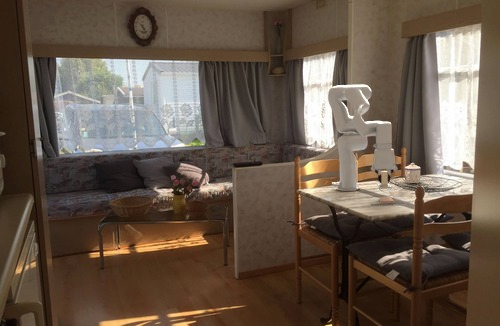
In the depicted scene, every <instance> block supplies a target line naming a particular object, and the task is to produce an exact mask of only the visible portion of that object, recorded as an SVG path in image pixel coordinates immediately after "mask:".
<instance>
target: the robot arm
mask: <svg viewBox="0 0 500 326" xmlns="http://www.w3.org/2000/svg"><path fill="white" fill-rule="evenodd" d="M371 97H372V89H371V87H370V86H368V85H367V84H346V85H344V84H343V85H342V84H341V85H335V86H332V87H331V88H329V91H328V92H327V101H328V104H329V106H330V108H331V111H332V115H333V119H334V123H335V127H336V131H337V132H338V133H340V134H343V135H341V136H339V137H338V138H337V148H338V149H337V150H338V156H339V157H338V158H339V181H337V182H331V186H332V187H337V190H338V191H341V192H355V191H359V190H360V188H361V187H360V186H358V183H357V182H358V177H357V175H358V174H357V170H358V168H357V157H356V155H355V154H354V151H356V152H357V151H362V150H363V151H364V150H365V149H367V147H368V145H369V144H368V143H369V142H368V137H375V144H373V145H372V148H375V149H374V151H373V152H374V153H373V163H372V166H371V167H370V170H371V171H372V172H374V173H375V174H377V177H378V178H377V181H378V183H382V181H381V171H387V172H388V183H389V184H390V182H391V175H392V174H394V173H393V172H396V171H397V170H399V169H398V166H397V165H396V157H395V149H394V148H393V147H392V146H393V145H392V144H393V142H392V141H393V135H392V133H393V132H392V131H393V130H392V128H393V127H392V123H391V122H390V121H383V120H382V121H381V120H373V121H371V120H369V121H365V120H364V118H363V117H362V115H364V114H365V113H367V112H368V111H369V109H370V103H369V101H368V100H369V99H371ZM343 101H348V102H349V104H350V107H351V108H352V109H353V111H354V113H353V115H350V113H349V109H348V107H347V106H346V105H345V103H344V102H343ZM349 133H350V134H349ZM351 133H352V134H351Z"/></svg>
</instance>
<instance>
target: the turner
mask: <svg viewBox="0 0 500 326" xmlns="http://www.w3.org/2000/svg"><path fill="white" fill-rule="evenodd" d="M381 181H382V183H380V182H377V183H376V186H377V188H379V189H380V190H384V189H385V190H387V189H388V190H391V189H393V186H392V185H391V183H390V182H389V183H388V172H387V170H381Z"/></svg>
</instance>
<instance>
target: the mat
mask: <svg viewBox="0 0 500 326" xmlns="http://www.w3.org/2000/svg"><path fill="white" fill-rule="evenodd" d="M370 206H371V207H377V206H378V207H381V206H382V207H383V206H389V207H391V206H395V207H396V206H397V207H398V206H404V207H405V206H406V204H405V203H394V204H381V203H370Z"/></svg>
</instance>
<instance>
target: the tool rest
mask: <svg viewBox="0 0 500 326" xmlns="http://www.w3.org/2000/svg"><path fill="white" fill-rule="evenodd" d="M389 193H390V195H391V197H393V198H414V195H413V194H412V193H410V191H406V190H405V191H404V190H403V191H400V190H399V191H397V190H396V191H389Z"/></svg>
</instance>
